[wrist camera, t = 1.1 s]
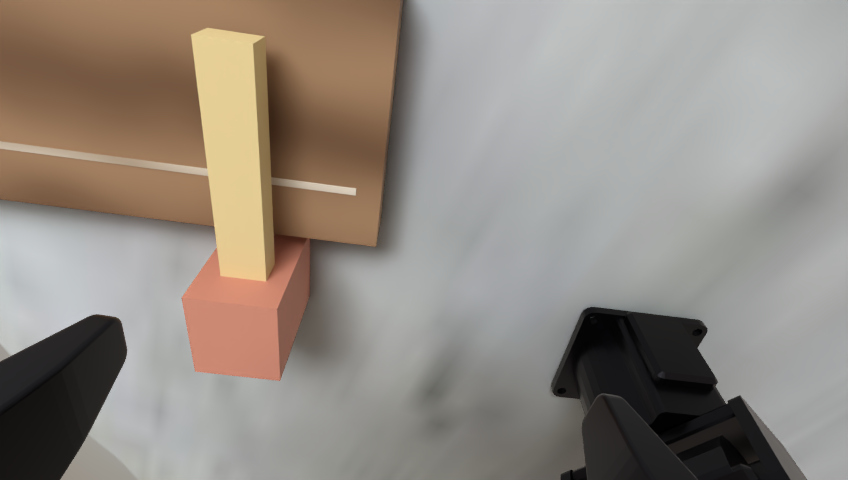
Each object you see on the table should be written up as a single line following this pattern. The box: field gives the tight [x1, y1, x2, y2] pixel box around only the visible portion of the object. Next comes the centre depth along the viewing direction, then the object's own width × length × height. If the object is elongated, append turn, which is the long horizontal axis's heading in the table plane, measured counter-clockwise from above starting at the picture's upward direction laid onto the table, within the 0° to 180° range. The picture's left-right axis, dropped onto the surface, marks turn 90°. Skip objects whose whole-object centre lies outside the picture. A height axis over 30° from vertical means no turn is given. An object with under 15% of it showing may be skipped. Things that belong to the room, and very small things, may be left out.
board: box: [0, 0, 403, 247], centre depth 18 cm, size 10×20×2 cm, turn 82°
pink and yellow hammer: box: [182, 28, 310, 381], centre depth 19 cm, size 13×4×6 cm, turn 172°
